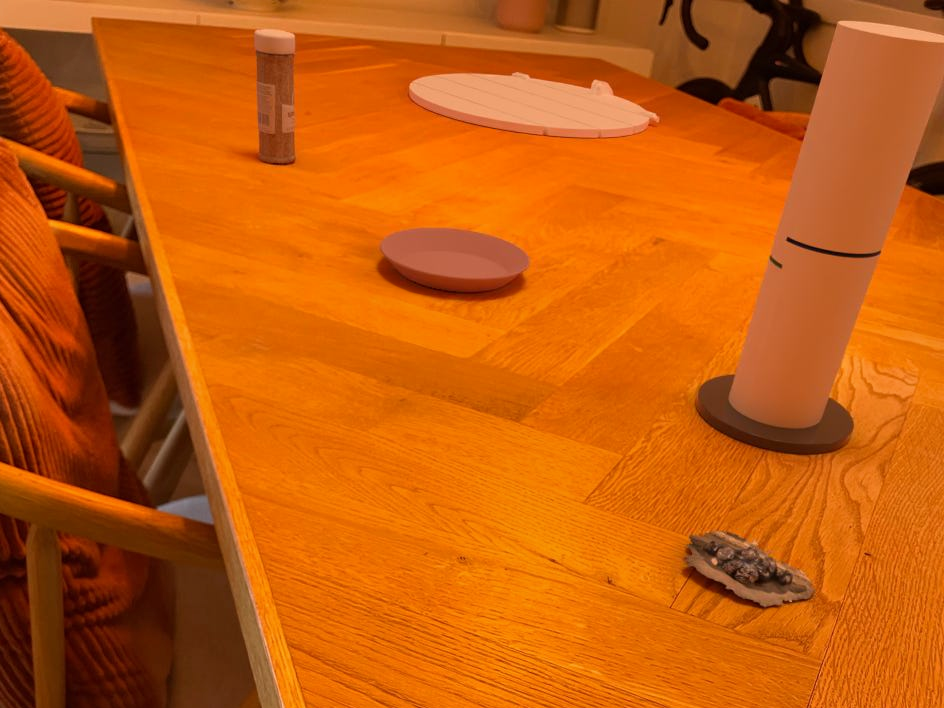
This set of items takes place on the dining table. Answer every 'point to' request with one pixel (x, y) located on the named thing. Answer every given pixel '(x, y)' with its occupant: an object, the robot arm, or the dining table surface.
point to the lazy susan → (531, 105)
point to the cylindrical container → (836, 217)
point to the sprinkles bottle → (275, 95)
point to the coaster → (808, 440)
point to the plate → (454, 258)
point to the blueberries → (747, 569)
